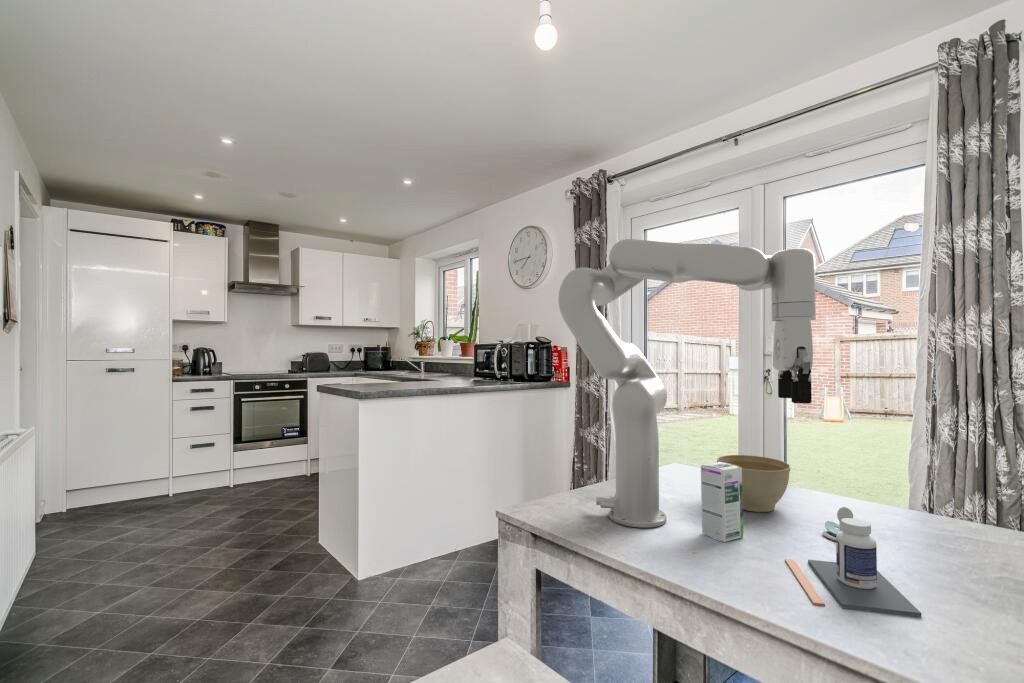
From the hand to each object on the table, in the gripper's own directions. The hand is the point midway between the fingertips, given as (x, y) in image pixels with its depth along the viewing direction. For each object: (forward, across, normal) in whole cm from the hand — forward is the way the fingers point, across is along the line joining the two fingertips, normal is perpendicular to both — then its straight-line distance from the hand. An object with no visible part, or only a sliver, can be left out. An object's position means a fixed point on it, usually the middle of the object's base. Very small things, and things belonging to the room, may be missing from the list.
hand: (793, 400), depth 97 cm
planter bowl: (+28, -24, -3) cm, 37 cm away
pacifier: (+29, -7, +10) cm, 31 cm away
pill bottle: (+28, +16, +5) cm, 32 cm away
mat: (+28, +16, +5) cm, 33 cm away
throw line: (+28, +16, -3) cm, 33 cm away
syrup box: (+28, -2, -13) cm, 31 cm away
